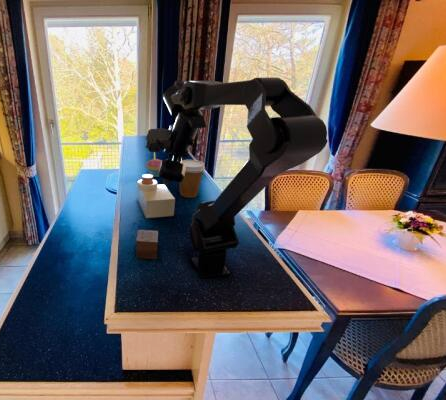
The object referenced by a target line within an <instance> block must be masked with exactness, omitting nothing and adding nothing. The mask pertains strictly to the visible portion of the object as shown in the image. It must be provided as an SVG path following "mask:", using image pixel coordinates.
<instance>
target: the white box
mask: <svg viewBox="0 0 446 400" xmlns="http://www.w3.org/2000/svg"><path fill="white" fill-rule="evenodd" d="M136 188H137V190H138V203H139V206H140V208H141V211H142V212H143V215H144V217H145V219H151V218H152V219H153V218H154V219H155V218H163V217H164V218H165V217H174V216H175V204H176V198H175V197H174V196H173V194H172V193H171V191H170V190H169V189H168V187H167V186H166V184H164V183H163V184H158V181H157V180H156V179H153V184H149V185H146V184H142V178H141V179H138V181H137V182H136Z"/></svg>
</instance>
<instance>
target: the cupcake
mask: <svg viewBox="0 0 446 400" xmlns="http://www.w3.org/2000/svg"><path fill="white" fill-rule="evenodd" d="M161 162H162V159H160V158H159V159H158V158H156V152H153V158H152V159H150V160H148V161H147V162H146V164H145V168H146V169H147V171H148V174H150V175H152V176H153V178H158V177H159V178H160V176H159V175H158V174H159V169H160V166H161Z"/></svg>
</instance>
